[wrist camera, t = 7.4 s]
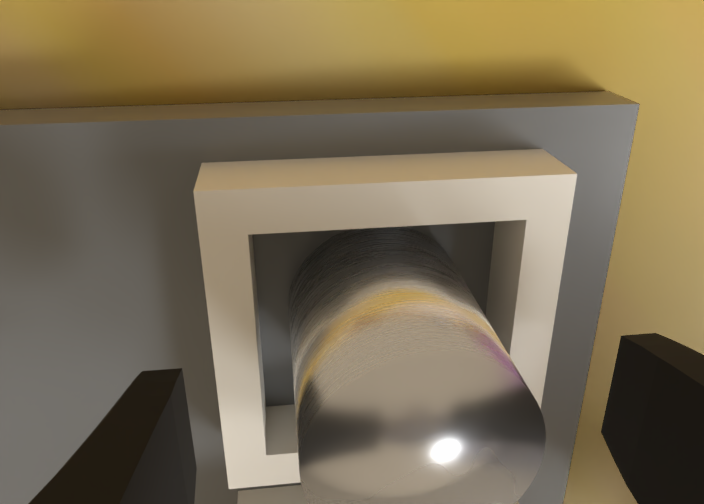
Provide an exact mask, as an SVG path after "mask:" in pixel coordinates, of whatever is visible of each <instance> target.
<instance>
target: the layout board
mask: <svg viewBox="0 0 704 504" xmlns="http://www.w3.org/2000/svg"><path fill="white" fill-rule="evenodd" d="M638 110H639V103H636V102H634V101H631V100H629V99H627V98H624V97H622V96H619V95H617V94H615V93H612V92H610V91H595V92H562V93H530V94H497V95H465V96H432V97H400V98H367V99H335V100H302V101H270V102H237V103H205V104H173V105H140V106H108V107H75V108H43V109H10V110H0V504H28V503H29V502H30V501H31V500H32V499H33V498H34V497H35V496H36V495H37V494H38V493H39V492H40V491H41V490H42V489H43V487H44V486H45V485H46V484H47V483H48V482H49V481H50V480H51V479H52V478H53V477H54V476H55V475H56V474H57V472H58V471H59V470H60V469H61V468H62V467H63V466H64V464H65V463H66V462H67V461H68V460H69V459H70V457H71V456H72V455H73V454H74V453H75V452H76V450H77V449H78V448H79V447H80V446H81V445H82V443H83V442H84V441H85V440H86V439H87V438H88V436H89V435H90V434H91V433H92V432H93V430H94V429H95V428H96V427H97V426H98V424H99V423H100V422H101V421H102V419H103V418H104V417H105V416H106V414H107V413H108V412H109V411H110V409H111V408H112V407H113V406H114V404H115V403H116V402H117V401H118V399H119V398H120V397H121V396H122V394H123V393H124V392H125V390H126V389H127V388H128V387H129V385H130V384H131V383H132V382H133V380H134V379H135V378H136V377H137V376H138V375H139V374H140V373H141V372H142V371H149V370H163V369H177V368H182V370H183V377H184V384H185V391H186V398H187V404H188V411H189V418H190V425H191V432H192V439H193V446H194V453H195V460H196V467H197V472H196V486H195V501H194V504H309V503H308V501H307V499H306V497H305V495H304V492H303V489H302V486H301V481H300V473H299V460H298V445H297V430H296V415H295V400H294V384H293V369H292V354H291V339H290V324H289V295H290V290H291V286H292V283H293V280H294V278H295V276H296V274H297V272H298V270H299V268H300V267H301V265H302V264H303V262H304V261H305V260H306V258H307V257H308V256H309V255H310V254H311V253H312V252H313V251H314V250H315V249H316V248H317V247H319V246H320V245H321V244H322V243H324V242H325V241H327V240H328V239H330V238H331V237H333V236H335V235H337V234H339V233H341V232H343V231H346V230H349V229H363V228H382V227H400V226H405V227H408V228H412V229H414V230H417V231H419V232H421V233H423V234H425V235H427V236H428V237H430V238H432V239H433V240H434V241H435V242H436V243H438V244H439V245H440V246H441V247H442V248H443V249H444V250H445V251H446V253H447V254H448V256H449V257H450V259H451V260H452V262H453V263H454V265H455V267H456V268H457V270H458V272H459V273H460V275H461V276H462V278H463V280H464V281H465V283H466V285H467V286H468V288H469V290H470V291H471V293H472V295H473V296H474V298H475V300H476V301H477V303H478V305H479V306H480V308H481V310H482V311H483V313H484V315H485V316H486V318H487V320H488V321H489V323H490V325H491V326H492V328H493V330H494V331H495V333H496V335H497V336H498V338H499V340H500V341H501V343H502V345H503V346H504V348H505V350H506V351H507V353H508V355H509V356H510V358H511V360H512V361H513V363H514V364H515V366H516V368H517V369H518V371H519V373H520V374H521V376H522V378H523V379H524V381H525V383H526V384H527V386H528V388H529V389H530V391H531V393H532V394H533V396H534V398H535V399H536V401H537V403H538V405H539V407H540V410H541V412H542V415H543V419H544V423H545V431H546V442H545V451H544V455H543V458H542V462H541V465H540V467H539V469H538V472H537V474H536V476H535V478H534V479H533V481H532V483H531V484H530V486H529V487H528V489H527V490H526V491H525V493H524V494H523V495H522V497H521V498H520V499H519V500H518V501H517V502H516V503H515V504H563V501H564V496H565V491H566V485H567V480H568V475H569V470H570V464H571V459H572V454H573V449H574V444H575V438H576V433H577V428H578V423H579V418H580V412H581V407H582V402H583V397H584V391H585V386H586V381H587V376H588V371H589V365H590V360H591V355H592V350H593V344H594V339H595V334H596V329H597V324H598V318H599V313H600V308H601V303H602V297H603V292H604V287H605V282H606V277H607V271H608V266H609V261H610V256H611V250H612V245H613V240H614V235H615V230H616V224H617V219H618V214H619V209H620V203H621V198H622V193H623V188H624V183H625V177H626V172H627V167H628V162H629V156H630V151H631V146H632V141H633V136H634V130H635V125H636V120H637V115H638Z"/></svg>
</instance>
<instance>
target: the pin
mask: <svg viewBox="0 0 704 504" xmlns="http://www.w3.org/2000/svg"><path fill="white" fill-rule="evenodd" d="M289 324H290V339H291V354H292V369H293V384H294V400H295V415H296V430H297V445H298V460H299V473H300V481H301V486H302V489H303V492H304V495H305V497H306V499H307V501H308V503H309V504H515V503H516V502H517V501H518V500H519V499H520V498H521V497H522V495H523V494H524V493H525V491H526V490H527V489H528V487H529V486H530V484H531V483H532V481H533V479H534V478H535V476H536V474H537V472H538V469H539V467H540V465H541V462H542V458H543V455H544V451H545V442H546V431H545V423H544V419H543V415H542V412H541V410H540V407H539V405H538V403H537V401H536V399H535V398H534V396H533V394H532V393H531V391H530V389H529V388H528V386H527V384H526V383H525V381H524V379H523V378H522V376H521V374H520V373H519V371H518V369H517V368H516V366H515V364H514V363H513V361H512V360H511V358H510V356H509V355H508V353H507V351H506V350H505V348H504V346H503V345H502V343H501V341H500V340H499V338H498V336H497V335H496V333H495V331H494V330H493V328H492V326H491V325H490V323H489V321H488V320H487V318H486V316H485V315H484V313H483V311H482V310H481V308H480V306H479V305H478V303H477V301H476V300H475V298H474V296H473V295H472V293H471V291H470V290H469V288H468V286H467V285H466V283H465V281H464V280H463V278H462V276H461V275H460V273H459V272H458V270H457V268H456V267H455V265H454V263H453V262H452V260H451V259H450V257H449V256H448V254H447V253H446V251H445V250H444V249H443V248H442V247H441V246H440V245H439V244H438V243H436V242H435V241H434V240H433V239H432V238H430V237H428V236H427V235H425V234H423V233H421V232H419V231H417V230H414V229H412V228H408V227H405V226H400V227H382V228H363V229H349V230H346V231H343V232H341V233H339V234H337V235H335V236H333V237H331V238H330V239H328V240H327V241H325V242H324V243H322V244H321V245H320V246H319V247H317V248H316V249H315V250H314V251H313V252H312V253H311V254H310V255H309V256H308V257H307V258H306V260H305V261H304V262H303V264H302V265H301V267H300V268H299V270H298V272H297V274H296V276H295V278H294V280H293V283H292V286H291V290H290V295H289Z"/></svg>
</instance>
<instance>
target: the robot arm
mask: <svg viewBox="0 0 704 504" xmlns="http://www.w3.org/2000/svg"><path fill="white" fill-rule="evenodd" d="M601 432H602V435H603V437H604V439H605V441H606V443H607V446H608V448H609V450H610V452H611V454H612V457H613V459H614V461H615V463H616V465H617V467H618V469H619V471H620V473H621V475H622V477H623V479H624V481H625V483H626V485H627V487H628V488H629V490H630V491H631V493H632V495H633V496H634V498H635V499H636V501H637V502H638V504H704V355H702V354H700V353H698V352H696V351H694V350H692V349H690V348H688V347H686V346H684V345H682V344H680V343H678V342H675V341H673V340H671V339H669V338H666V337H664V336H661V335H659V334H656V333H652V334H639V335H625V336H621V340H620V345H619V349H618V354H617V359H616V364H615V368H614V373H613V378H612V383H611V387H610V392H609V397H608V402H607V406H606V411H605V416H604V420H603V425H602V430H601ZM196 472H197V467H196V460H195V453H194V446H193V439H192V432H191V425H190V418H189V411H188V404H187V398H186V391H185V384H184V377H183V370H182V368H177V369H163V370H149V371H142V372H141V373H140V374H139V375H138V376H137V377H136V378H135V379H134V380H133V382H132V383H131V384H130V385H129V387H128V388H127V389H126V390H125V392H124V393H123V394H122V396H121V397H120V398H119V399H118V401H117V402H116V403H115V404H114V406H113V407H112V408H111V409H110V411H109V412H108V413H107V414H106V416H105V417H104V418H103V419H102V421H101V422H100V423H99V424H98V426H97V427H96V428H95V429H94V430H93V432H92V433H91V434H90V435H89V436H88V438H87V439H86V440H85V441H84V442H83V443H82V445H81V446H80V447H79V448H78V449H77V450H76V452H75V453H74V454H73V455H72V456H71V457H70V459H69V460H68V461H67V462H66V463H65V464H64V466H63V467H62V468H61V469H60V470H59V471H58V472H57V474H56V475H55V476H54V477H53V478H52V479H51V480H50V481H49V482H48V483H47V484H46V485H45V486H44V487H43V489H42V490H41V491H40V492H39V493H38V494H37V495H36V496H35V497H34V498H33V499H32V500H31V501H30V502H29V503H28V504H194V501H195V486H196Z"/></svg>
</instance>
